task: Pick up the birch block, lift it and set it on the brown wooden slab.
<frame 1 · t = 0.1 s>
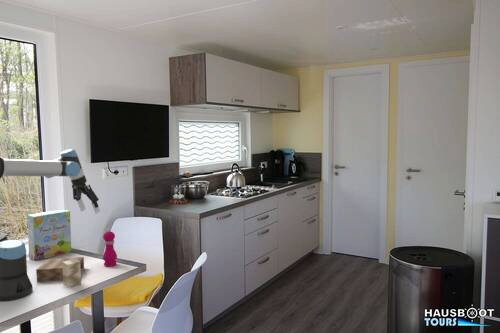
hand: (90, 211, 220), 28 cm above the table, tool tilted 20°, fingers open, 13 cm apart
birch block: (72, 284, 186), on the table
brown wooden slab: (61, 274, 199), on the table
pepper mill: (110, 265, 212), on the table
snack box: (51, 255, 231), on the table
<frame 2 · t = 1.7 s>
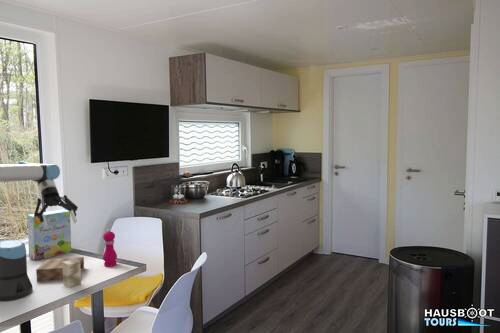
hand: (61, 224, 191), 27 cm above the table, tool tilted 45°, fingers open, 13 cm apart
nothing on the table moved.
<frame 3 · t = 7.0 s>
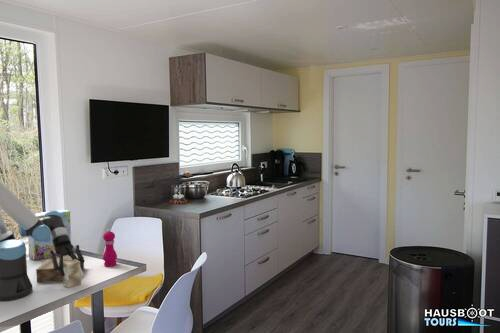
hand: (74, 279, 183), 3 cm above the table, tool tilted 45°, fingers closed on birch block, 6 cm apart
birch block: (72, 284, 186), on the table, touching gripper
everything else where it was.
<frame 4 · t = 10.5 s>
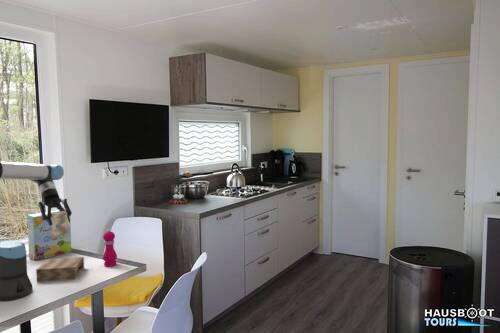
hand: (61, 228, 194), 25 cm above the table, tool tilted 45°, fingers closed on birch block, 6 cm apart
birch block: (59, 234, 197), point 21 cm above the table, touching gripper
everything else where it was.
when the fingers open (10 cm above the table, at t = 14.2 s): birch block stays where it is, resting on brown wooden slab.
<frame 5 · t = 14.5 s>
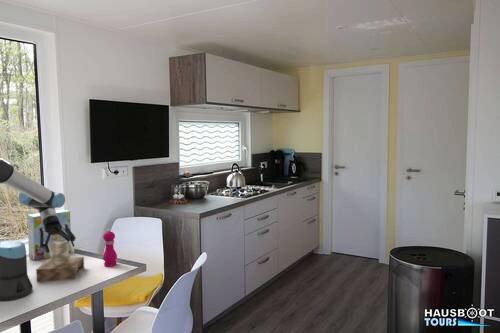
hand: (62, 254, 196), 11 cm above the table, tool tilted 45°, fingers open, 9 cm apart
birch block: (60, 263, 198), point 6 cm above the table, touching brown wooden slab
everything else where it was.
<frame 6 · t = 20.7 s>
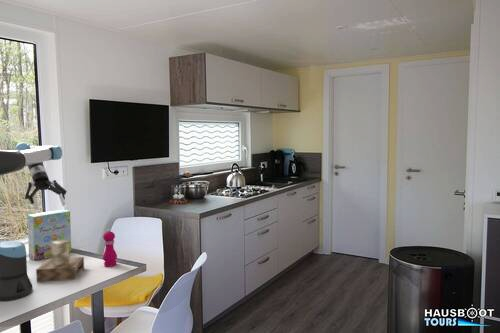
hand: (50, 206, 205), 34 cm above the table, tool tilted 45°, fingers open, 13 cm apart
nothing on the table moved.
at the end: birch block inside the target area on the brown wooden slab (0.0 cm from its centre), point 6.0 cm above the brown wooden slab's base; birch block tilted 0°; the gripper is holding nothing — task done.
